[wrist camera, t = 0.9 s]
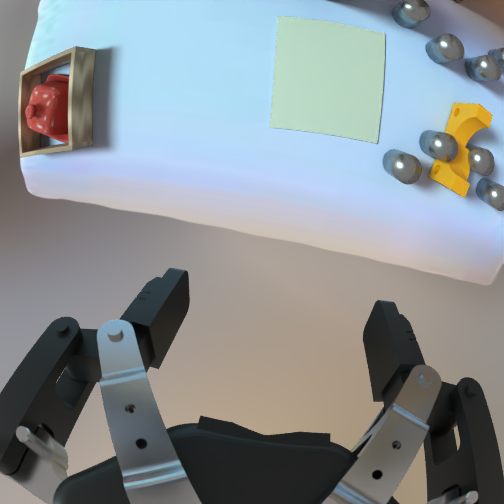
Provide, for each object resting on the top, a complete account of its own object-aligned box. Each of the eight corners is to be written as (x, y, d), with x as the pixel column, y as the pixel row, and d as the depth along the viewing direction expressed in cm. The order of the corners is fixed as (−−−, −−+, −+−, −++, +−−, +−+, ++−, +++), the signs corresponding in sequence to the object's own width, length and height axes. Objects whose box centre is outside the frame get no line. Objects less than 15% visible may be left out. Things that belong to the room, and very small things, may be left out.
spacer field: (392, 3, 21) (403, -9, 16) (502, 56, 19) (520, 54, 14) (380, 172, 33) (392, 181, 28) (488, 201, 31) (505, 212, 26)
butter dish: (75, 144, 37) (40, 155, 30) (39, 129, 36) (6, 138, 29) (92, 81, 32) (56, 80, 24) (53, 72, 31) (19, 73, 23)
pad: (278, 16, 25) (277, 16, 25) (384, 34, 24) (385, 33, 24) (270, 127, 33) (270, 127, 32) (376, 143, 31) (377, 143, 31)
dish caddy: (39, 71, 30) (20, 72, 26) (95, 49, 29) (75, 46, 24) (38, 151, 38) (20, 158, 34) (92, 144, 37) (72, 150, 32)
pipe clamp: (449, 189, 31) (472, 203, 26) (428, 176, 31) (451, 189, 26) (474, 118, 26) (500, 122, 20) (453, 103, 26) (479, 103, 20)
